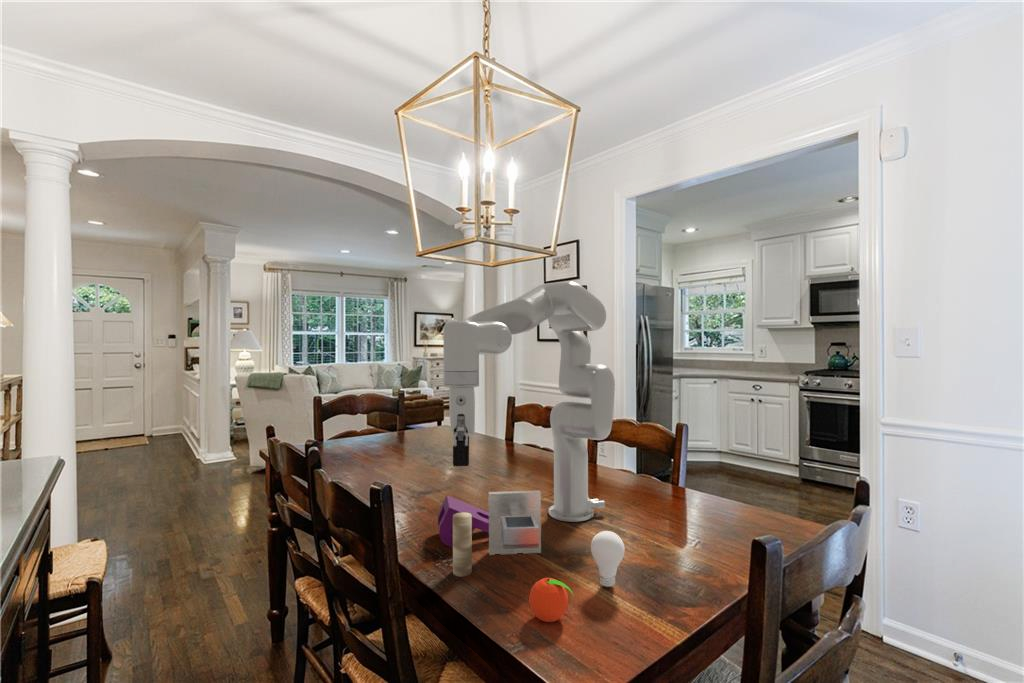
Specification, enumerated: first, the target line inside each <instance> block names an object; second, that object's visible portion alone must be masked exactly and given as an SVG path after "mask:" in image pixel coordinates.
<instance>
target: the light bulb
mask: <svg viewBox="0 0 1024 683" xmlns="http://www.w3.org/2000/svg"><path fill="white" fill-rule="evenodd" d="M625 550H626V549H625V544H624V541H623V540H622V538H621V537H620V536H619V535H618V534H617V533H615V532H613V531H611V530H603V531H599V532H598V533H597V534H596V535H594V537H593V538H592V540H591V543H590V553H591V556H592V557H593V559H594V561H595V563H596V564H597V565H596V566H597V567H598V572H599V575H600V577H599V583H600V585H602V586H603V587H605V588H608V589H609V588H611V587H614V586H615V584H616V577H615V576H617V571H618V570H617V569H618V567H619V565H620V564H621V562H622V560H623V559H624V557H625V553H626V552H625Z"/></svg>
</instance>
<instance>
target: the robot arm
mask: <svg viewBox="0 0 1024 683" xmlns="http://www.w3.org/2000/svg"><path fill="white" fill-rule="evenodd" d="M546 320H547V322H548V324H549V326H550V327H551V328H552V330H553V331H554V333H555V334H556V336H557V338H558V341H559V344H560V360H559V361H560V362H559V370H558V371H559V373H558V389H559V392H560V393H561V394H562V395H564V396H566V397H570V398H578V399H590V403H585V402H578V401H561V402H558V403H556V404H555V405H554V406H553V407H552V409H551V411H550V415H549V422H550V428H551V432H552V439H553V440H552V441H553V442H552V443H553V505H551V506H550V507H548V515H549V516H550V517H552V519H555V520H558V521H562V522H567V523H568V522H569V523H570V522H571V523H578V522H579V523H580V522H584V521H589V520H590V519H591V518H593V517H594V515H595V514H594V509H597V508H598V509H605V508H606V503H605V500H599V499H598V498H593V499H591V498H590V497H589V454H588V448H587V446H586V443H585V441H584V439H585V440H586V439H587V440H593V441H594V440H596V441H602V440H605V439H607V438H608V437H609V436H610V435H611V434H610V433H611V431H612V427H613V420H614V418H613V417H614V405H615V392H616V391H615V390H616V388H615V386H616V380H615V377H614V373H613V371H612V370H611V369H610V367H608V366H606V365H604V364H597V363H596V364H594V363H593V364H592V363H591V356H592V355H591V353H592V351H591V348H592V347H591V344H590V341H589V339H588V337H587V336H586V335H585V333H584V332H586V331H587V332H594V331H599V330H600V329H602V327H604V326H605V323H606V320H607V311H606V308H605V306H604V304H603V302H602V301H601V300H600V299H599V298H598V297H596V296H595V295H594V294H593V293H592V292H590V291H589V290H588V289H586V288H585V287H584V286H582V285H581V284H579V283H577V282H575V281H562V282H561V281H559V282H558V281H557V282H548V283H543V284H540V285H538V286H536V287H534V288H532V289H531V290H529V291H527V292H526V293H524V294H522V295H521V296H518V297H517V298H515V299H512V300H510V301H505V302H504V303H501V304H498V305H496V306H493V307H490V308H487V309H485V310H482V311H479V312H477V313H475V314H473V315H471V316H469V317H467V318H466V319H464V320H455V321H453V320H452V321H447V322H446V323H444V325H443V387H444V388H448V393H449V396H448V397H449V398H448V399H449V403H448V404H449V405H448V406H449V408H448V409H449V423H450V424H449V426H450V433H451V435H452V436H453V446H452V465H453V467H469V465H470V436H469V434H471V436H473V435H474V434H475V433H476V432H475V431H476V410H475V409H476V405H475V404H476V398H475V397H476V396H475V388H478V387H480V355H483V356H496V355H500V354H503V353H505V352H506V351H507V350H508V349H509V348H510V347H511V344H512V341H513V335H519V334H522V333H526V332H529V331H531V330H533V329H535V328H536V327H538V326H539V325H541V324H542V323H543V322H544V321H546Z"/></svg>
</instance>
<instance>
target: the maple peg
mask: <svg viewBox="0 0 1024 683" xmlns="http://www.w3.org/2000/svg"><path fill="white" fill-rule="evenodd" d="M472 536H473V533H472V515H471V514H470V513H465V512H461V513H456V514H454V515H453V547H452V574H453V575H454V576H456V577H460V578H462V577H468V576H470V575H471V574H472V572H473V560H472V559H473V558H472V557H473V555H472V554H473V551H472V550H473V547H472V546H473V544H472V543H473V541H472V540H473V539H472V538H473V537H472Z"/></svg>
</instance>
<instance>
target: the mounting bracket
mask: <svg viewBox="0 0 1024 683" xmlns="http://www.w3.org/2000/svg"><path fill="white" fill-rule="evenodd" d="M461 512H465V513H470V514H471V515H472V534H473V532H474V531H475V529H478V530H480V531H482V532H485V533H487V534H489V511H487V510H484V509H482V508H479V507H476V506H475V505H472V504H469V503H467V502H465V501H462V500H459V499H458V498H455V497H454V496H450V495H446V496H445V498H444V500H443V502H442V504H441V507H440V508H439V510H438V514H437V525H438V532H439V538H440V540H441V542H442V543H443V544H444V545H445V546H448V547H450V548H453V515H454V514H456V513H461Z"/></svg>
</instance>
